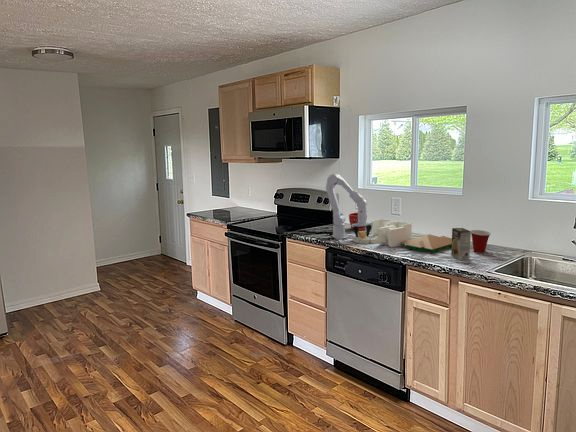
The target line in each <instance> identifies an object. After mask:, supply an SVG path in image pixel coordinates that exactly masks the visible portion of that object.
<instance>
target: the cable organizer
mask: <svg viewBox="0 0 576 432" xmlns="http://www.w3.org/2000/svg"><path fill="white" fill-rule="evenodd" d="M377 236H378V243H377V244H378V245H382V246H385V245H387V244H388V246H389V248H396V247H401V243H400V242H404V241H407V240H406V228H405V227H400V228H397V227H396V226H393V225H392V226H386V227H381V228H379V229H378V235H377ZM402 247H404V244H402Z"/></svg>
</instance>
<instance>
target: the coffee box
mask: <svg viewBox="0 0 576 432" xmlns="http://www.w3.org/2000/svg"><path fill="white" fill-rule="evenodd" d="M451 238H452V246H451V249H450V250H451V253H450V254H451V255H450V256H451V257H452V258H454V259H455V260H457V259H458V260H457V261H466V260H465V259H469V260H470V255H471V254H470V253H471V252H470V251H471V239H472V235H471V230H469V229H466V228H463V227H453V228H451Z"/></svg>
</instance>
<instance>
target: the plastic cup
mask: <svg viewBox="0 0 576 432" xmlns="http://www.w3.org/2000/svg"><path fill="white" fill-rule="evenodd" d="M470 231H471V240H472V247H473V252H474V253H476V252H478V253H477V254H482V253H486V249H487V245H488V241H489V238H490V235H491V232H489V231H486V230H480V229H472V230H470Z"/></svg>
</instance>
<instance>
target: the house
mask: <svg viewBox="0 0 576 432" xmlns="http://www.w3.org/2000/svg"><path fill="white" fill-rule="evenodd" d="M400 243H401V246H400V247H401V248H403V247H406V248H409V250H413V251H417V252H418V253H420V252H421V253H423V252H425V253H426V250H428V253H430V254H433V253H434V251H435V253H436V252H440V251H443V250H444V251H445V250H447V249H450V248H451V249H452V237H449V236H445V235H442V236H437V235H433V234H431V233H430V234H425V235H422V236H418V237H415V238H411V239H410V240H406V241H404V242H400ZM402 244H404V245H403V246H402Z"/></svg>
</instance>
